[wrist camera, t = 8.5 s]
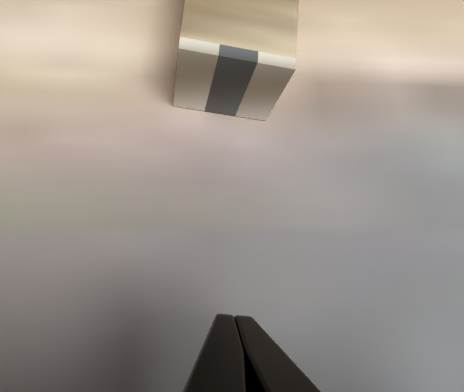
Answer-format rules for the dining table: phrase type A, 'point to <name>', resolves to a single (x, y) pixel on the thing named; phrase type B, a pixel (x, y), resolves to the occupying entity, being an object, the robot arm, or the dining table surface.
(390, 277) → the dining table surface
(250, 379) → the robot arm
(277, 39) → the maple block
